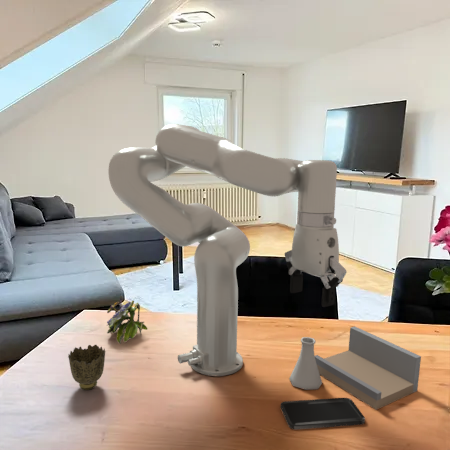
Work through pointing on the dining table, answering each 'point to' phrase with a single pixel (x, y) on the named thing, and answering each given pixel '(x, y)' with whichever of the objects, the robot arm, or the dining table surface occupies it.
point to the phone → (321, 413)
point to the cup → (87, 365)
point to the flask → (306, 367)
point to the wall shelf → (372, 369)
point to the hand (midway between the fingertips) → (311, 298)
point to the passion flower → (130, 325)
